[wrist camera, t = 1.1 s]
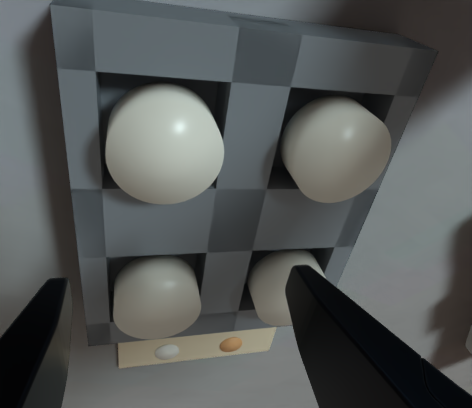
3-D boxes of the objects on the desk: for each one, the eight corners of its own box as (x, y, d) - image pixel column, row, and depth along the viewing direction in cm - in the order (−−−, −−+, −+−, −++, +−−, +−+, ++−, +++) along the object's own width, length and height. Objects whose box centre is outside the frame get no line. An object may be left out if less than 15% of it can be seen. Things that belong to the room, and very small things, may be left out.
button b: (221, 85, 15) (231, 104, 14) (208, 179, 18) (216, 204, 16) (105, 77, 14) (102, 96, 13) (109, 178, 17) (107, 205, 15)
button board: (398, 34, 18) (438, 51, 16) (304, 289, 29) (320, 322, 26) (62, -10, 14) (49, 4, 12) (92, 305, 25) (88, 346, 22)
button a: (381, 98, 17) (407, 116, 16) (350, 180, 20) (370, 202, 18) (292, 91, 16) (310, 109, 15) (271, 179, 19) (284, 203, 17)
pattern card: (283, 299, 29) (285, 304, 28) (267, 347, 32) (269, 351, 32) (117, 313, 26) (116, 318, 25) (118, 364, 29) (118, 369, 29)
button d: (199, 252, 20) (205, 279, 19) (192, 306, 23) (197, 334, 21) (113, 255, 19) (111, 285, 18) (115, 312, 22) (114, 343, 20)
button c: (325, 246, 22) (340, 271, 21) (306, 297, 25) (318, 322, 23) (254, 249, 21) (264, 276, 20) (241, 302, 24) (250, 329, 22)
